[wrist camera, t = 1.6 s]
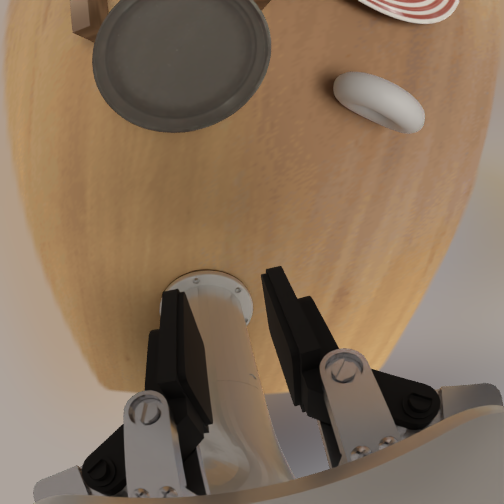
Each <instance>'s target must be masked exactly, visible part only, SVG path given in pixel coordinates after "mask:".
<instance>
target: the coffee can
mask: <svg viewBox="0 0 504 504" xmlns="http://www.w3.org/2000/svg"><path fill="white" fill-rule="evenodd" d="M270 56H271V37H270V31H269V28H268V24H267V22H266V19H265V17H264V15H263V13H262V11H261V10H260V8H259V7H258V5H257V4H256V3H255V2H254V0H120V1H119V2H118V4H116V5H115V6H114V8H113V9H112V10H111V11H110V12H109V14H108V15H107V16H106V18H105V20H104V21H103V23H102V25H101V27H100V29H99V31H98V33H97V36H96V40H95V43H94V48H93V58H92V64H93V73H94V78H95V82H96V84H97V87H98V89H99V91H100V93H101V95H102V97H103V98H104V100H105V101H106V102H107V103H108V105H109V106H110V107H111V108H112V109H113V110H114V111H115V112H116V113H117V114H118V115H120V116H121V117H122V118H124V119H125V120H127V121H129V122H130V123H132V124H135V125H137V126H139V127H142V128H145V129H149V130H154V131H158V132H170V133H177V132H189V131H194V130H198V129H202V128H206V127H209V126H211V125H214V124H216V123H218V122H220V121H222V120H224V119H226V118H227V117H229V116H231V115H232V114H234V113H235V112H236V111H238V110H239V109H240V108H241V107H242V106H244V105H245V104H246V103H247V102H248V100H249V99H250V98H251V97H252V96H253V95H254V93H255V92H256V91H257V89H258V88H259V86H260V84H261V83H262V81H263V79H264V77H265V75H266V72H267V69H268V65H269V61H270Z"/></svg>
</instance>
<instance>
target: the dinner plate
mask: <svg viewBox="0 0 504 504" xmlns="http://www.w3.org/2000/svg"><path fill="white" fill-rule="evenodd" d="M358 1H360V2H361V3H363V4H365V5H367V6H369V7H371V8H372V9H374V10H376V11H379V12H381V13H383V14H385V15H388V16H390V17H393V18H396V19H399V20H403V21H407V22H411V23H418V24H430V23H436V22H439V21H442V20H444V19H446V18H447V17H449V16H450V15H451V14H452V13H453V12H454V11H455V9H456V7H457V5H458V3H459V0H358Z"/></svg>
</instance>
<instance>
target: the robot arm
mask: <svg viewBox="0 0 504 504" xmlns="http://www.w3.org/2000/svg"><path fill="white" fill-rule="evenodd" d="M261 279H262V285H263V292H264V298H265V305H266V311H267V318H268V324H269V330H270V334H271V337H272V340H273V343H274V346H275V349H276V352H277V355H278V358H279V361H280V364H281V367H282V370H283V373H284V376H285V379H286V383H287V386H288V389H289V392H290V394H291V398H292V400H293V403H294V406H297V405H300V406H301V409H302V412H306V413H307V415H308V416H309V417H312V418H314V419H317V422H318V426H319V430H320V433H321V437H322V441H323V445H324V448H325V452H326V456H327V460H328V463H329V467H330V469H328V470H325V471H322V472H319V473H315V474H312V475H309V476H305V477H301V478H298V479H296V478H295V476H294V475H293V473H292V471H291V469H290V467H289V465H288V463H287V461H286V459H285V457H284V455H283V452H282V450H281V448H280V445H279V443H278V440H277V437H276V435H275V432H274V429H273V426H272V422H271V419H270V416H269V412H268V408H267V405H266V401H265V397H264V393H263V389H262V385H261V381H260V378H259V374H258V370H257V366H256V362H255V358H254V354H253V350H252V346H251V342H250V338H249V334H248V330H247V325H248V324H249V322H250V320H251V317H252V314H253V302H252V298H251V295H250V293H249V291H248V289H247V288H246V287H245V285H244V284H243V283H242V282H240V281H239V280H238V279H237V278H235V277H233V276H231V275H229V274H226V273H223V272H218V271H212V270H210V271H197V272H192V273H189V274H186V275H183V276H181V277H180V278H178V279H176V280H175V281H174V282H172V283H171V284H170V285H169V286H168V287H167V289H166V290H165V291H164V292H163V294H162V298H161V302H160V329H157V330H151V331H150V333H149V340H148V351H147V363H146V377H145V391H142V392H139V393H137V394H135V395H134V396H132V397H131V398H130V399H129V400H128V402H127V404H126V406H125V408H124V424H123V425H121V427H119V428H118V429H117V430H116V431H115V432H114V433H113V434H112V435H111V436H110V437H109V438H108V439H107V440H106V441H104V443H102V444H101V445H100V446H99V447H98V448H97V449H96V450H95V451H94V452H93V453H91V454H90V455H89V456H88V457H87V459H86V460H85V461H84V464H83V466H81V467H79V466H74V467H72V468H70V469H67V470H65V471H62V472H60V473H58V474H55V475H53V476H50V477H48V478H45V479H42V480H40V481H39V482H37V483H36V485H35V487H34V492H33V494H34V500H35V503H34V504H504V406H503V402H502V397H501V394H500V391H499V390H498V389H497V387H496V386H494V385H492V384H488V383H483V384H472V385H460V386H444V387H441V388H440V389H438V390H434V389H433V388H432V387H431V386H428V385H426V384H423V383H419V382H415V381H412V380H408V379H404V378H400V377H397V376H394V375H390V374H387V373H383V372H380V371H377V370H374V369H371V368H370V366H369V364H368V362H367V360H366V358H365V357H364V356H363V355H362V354H361V353H359V352H358V351H355V350H352V349H346V348H343V349H339V348H338V346H337V344H336V342H335V340H334V338H333V336H332V334H331V332H330V331H329V329H328V327H327V325H326V323H325V321H324V319H323V317H322V316H321V314H320V312H319V310H318V308H317V306H316V304H315V303H314V301H313V299H312V298H311V297H310V296H307V297H303V298H299V299H297V297H296V295H295V293H294V291H293V289H292V287H291V285H290V283H289V281H288V279H287V277H286V275H285V273H284V271H283V269H282V267H281V266H278V267H274V268H269V269H266V274H261Z"/></svg>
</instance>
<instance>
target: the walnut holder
mask: <svg viewBox="0 0 504 504" xmlns="http://www.w3.org/2000/svg"><path fill="white" fill-rule="evenodd" d="M270 1H271V0H254V2H255V3H256V4H257V5H258V7H259V8H260V10H261V9H263V8H264V7H265V6H266V5H267V4H268V3H269V2H270ZM70 7H71V19H72V29H73V33H75V34H77V35H79V36H82V37H84V38H86V39H88V40H90V41H92V42H95V40H96V36H97V33H98V31H99V29H100V27H101V25H102V23H103V21H104V20H105V18H106V16H107V15H108V7H107V0H70Z"/></svg>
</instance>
